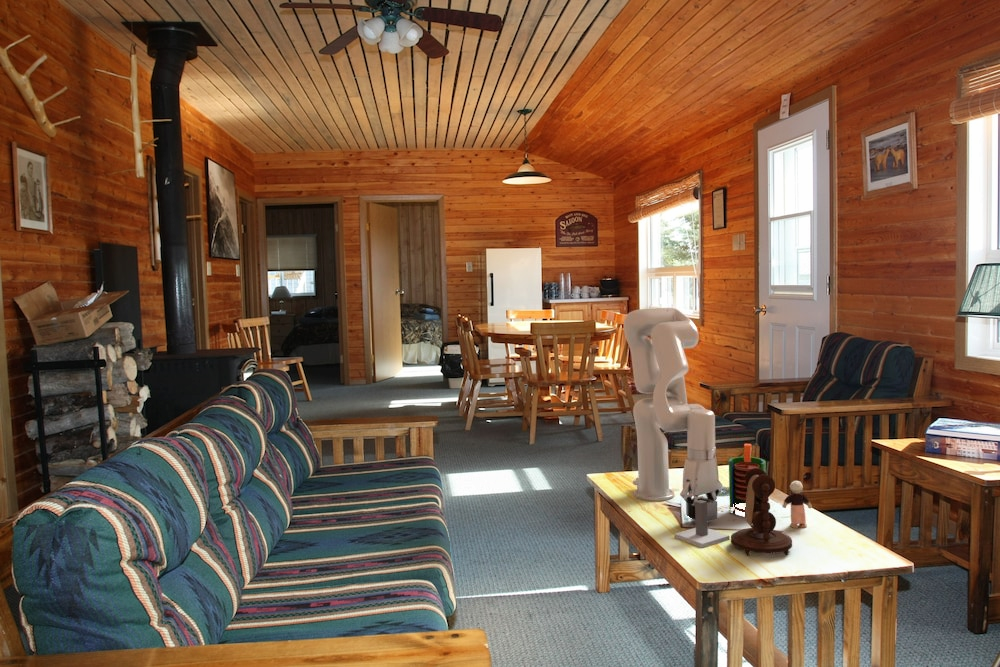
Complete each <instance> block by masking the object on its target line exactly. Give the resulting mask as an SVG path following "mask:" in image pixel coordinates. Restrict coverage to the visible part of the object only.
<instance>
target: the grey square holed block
mask: <svg viewBox="0 0 1000 667" xmlns="http://www.w3.org/2000/svg"><path fill="white" fill-rule="evenodd" d="M693 498H694V497H693ZM693 498H691V499H692V500H693ZM698 500H703V501H706V502H707V519H708V522H710V521H711V522H712V521H713V520H718V501H717V500H715V501H714V500H711V499H709V498H707V496H706V497H705V496H702V495H699V496H698ZM698 500H697V501H698ZM685 512H686V513H685V514H686V515H687V516H688V504H687V503H686V502H685ZM692 519H693V518H692ZM692 519H691V520H692ZM693 521H695V519H693Z"/></svg>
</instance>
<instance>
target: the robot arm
mask: <svg viewBox="0 0 1000 667" xmlns="http://www.w3.org/2000/svg"><path fill="white" fill-rule="evenodd" d="M623 331H624V336H625V339H626V341H627V344H628V347H629V350H630V356H631V365H632V372H633V373H632V374H633V380H634V386H635V389H636V391H637V392H638V393H640V394H647V395H648V394H652V397H646V398H642V399H640V400H639V399H638V401H637V402H636V403H634V405H633V408H632V409H633V410H632V413H633V420H634V424H635V425H634V426H635V429H636V443H637V472H638V475H637V477H636V478H635V479H634V480H633V481H632V484H633V485H634V486H636V489H635V490H634V492H633V495H634V497H635V498H637V499H639V500H643V501H650V502H652V501H653V502H654V501H655V502H660V501H667V500H670V499H672V498H674V496H675V491H673V490H672V489H670V483H669V482H670V476H669V445H668V439H667V437H666V435H665V434H664V433H663V432H662V431H664V432H666V433H676V432H685V431H686V432H687V440H686V441H687V442H686V443H687V451H686V452H687V458H686V459H685V461H684V466H683V474H682V490H681V492H680V494H679V496H680V497H681V498H682V499H683V500H684V501H685V504H686V503H687V504H688V516H689V517H690V518H693V519H695V501H697V500H698V497H700V496H702V495H705V496H706V498H709V499H711V500H714V501H717V499H718V498H717V496H718V495H719V493H720V491H721V489H722V487H723V483H722V482H721V481H720V480H719V477H720V476H719V467H718V462H717V458H716V451H717V448H716V415H715V413H714V411H712V410H711V409H706V407H704V406H703V405H701V404H699V403H688V396H687V389H686V380H685V375H686V374H688V373H689V369H690V368H689V363H688V359H687V356H686V353H685V349H692V348H695V347H696V346H697V345H698V343H699V340H700V339H699V336H700V334H699V330H698V328H697V326H696V324H695V322H694V321H692V320H691V318H689V317H688V316H686V315H685V313H683V312H682V311H680V310H679V309H678V308H674V307H661V308H660V307H657V308H652V307H651V308H642V309H641V308H639V309H636V310H632V311H630V312H628V313H627V314H626V316H625V317H624V322H623ZM648 336H650V337H648ZM692 497H693V500H692ZM690 518H689V519H690Z"/></svg>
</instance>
